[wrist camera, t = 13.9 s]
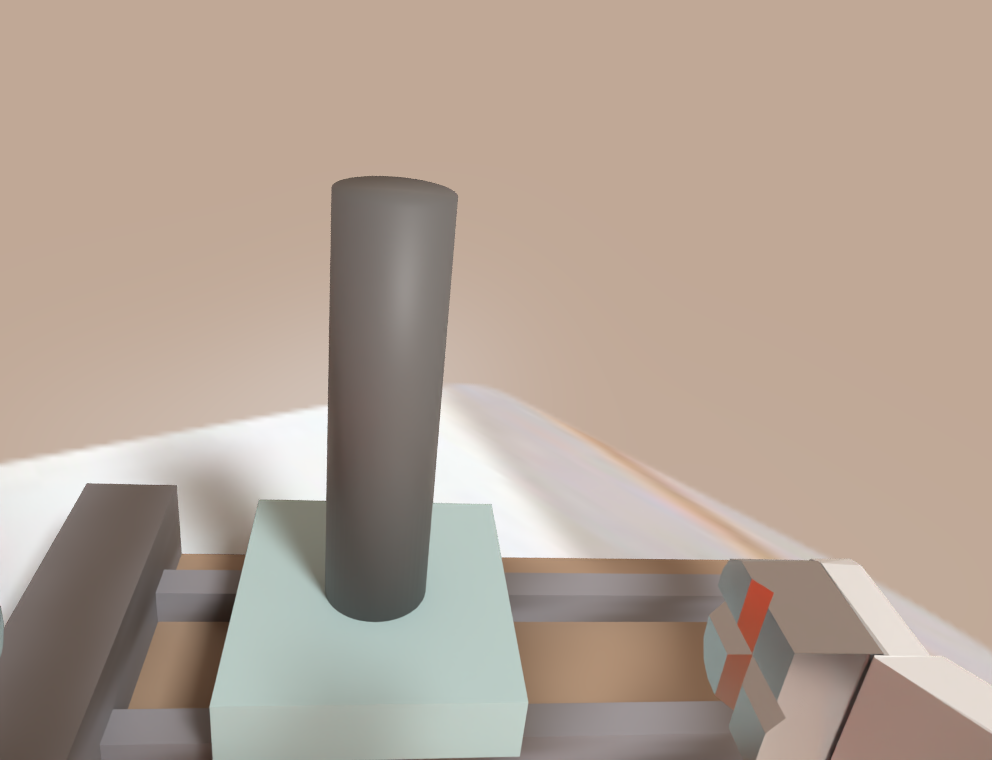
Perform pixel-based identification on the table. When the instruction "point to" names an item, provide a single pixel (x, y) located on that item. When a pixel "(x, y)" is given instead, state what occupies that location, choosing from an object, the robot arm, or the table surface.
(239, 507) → the table surface
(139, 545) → the rail board
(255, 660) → the carriage
